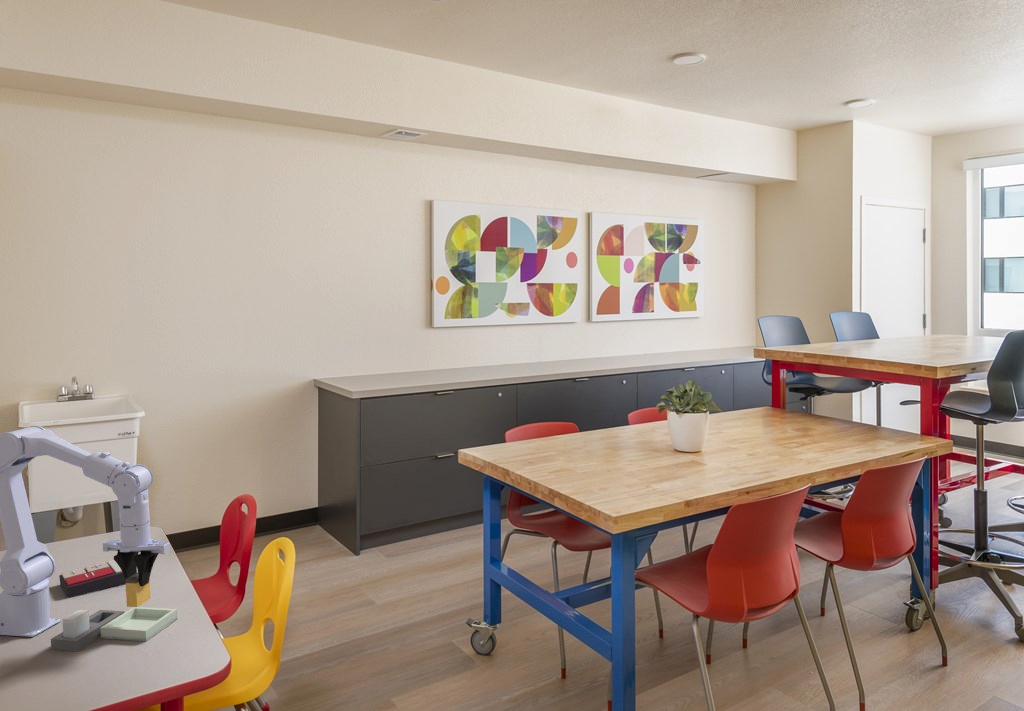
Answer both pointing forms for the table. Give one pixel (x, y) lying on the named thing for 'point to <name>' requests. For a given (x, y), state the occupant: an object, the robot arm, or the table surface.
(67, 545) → the table surface
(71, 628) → the block
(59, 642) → the block
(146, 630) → the parts tray
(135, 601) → the yellow rectangular block
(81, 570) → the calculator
